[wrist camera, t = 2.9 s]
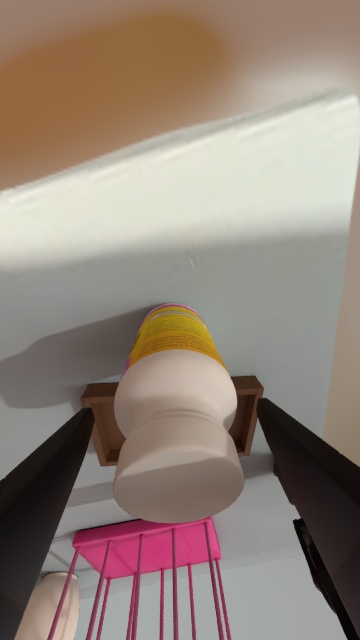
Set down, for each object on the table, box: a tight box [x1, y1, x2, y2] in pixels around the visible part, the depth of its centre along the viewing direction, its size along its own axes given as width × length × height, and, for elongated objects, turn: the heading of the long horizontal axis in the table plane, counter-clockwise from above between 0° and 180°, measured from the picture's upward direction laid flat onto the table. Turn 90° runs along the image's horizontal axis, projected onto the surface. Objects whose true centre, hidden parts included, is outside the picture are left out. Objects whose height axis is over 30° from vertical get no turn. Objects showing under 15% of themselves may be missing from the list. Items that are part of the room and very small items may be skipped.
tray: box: [81, 376, 264, 466], centre depth 21 cm, size 20×12×2 cm, turn 91°
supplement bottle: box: [113, 303, 244, 523], centre depth 12 cm, size 7×7×13 cm
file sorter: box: [47, 516, 231, 640], centre depth 27 cm, size 17×25×16 cm
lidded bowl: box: [14, 572, 80, 640], centre depth 34 cm, size 13×13×11 cm
